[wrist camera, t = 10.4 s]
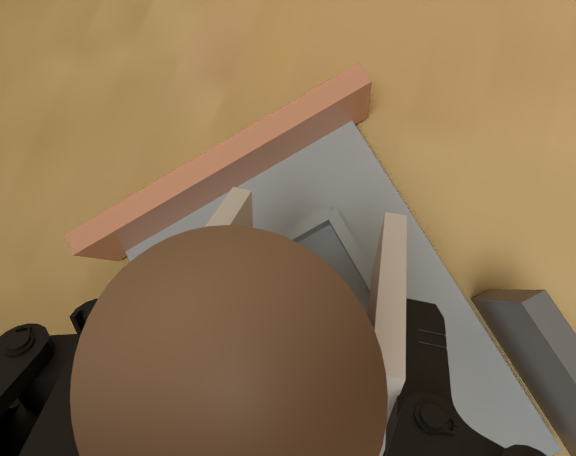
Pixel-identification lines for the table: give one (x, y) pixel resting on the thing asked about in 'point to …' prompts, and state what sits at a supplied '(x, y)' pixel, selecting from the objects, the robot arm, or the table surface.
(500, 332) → the dock
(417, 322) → the robot arm
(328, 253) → the tray
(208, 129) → the table surface
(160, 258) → the wooden dowel
